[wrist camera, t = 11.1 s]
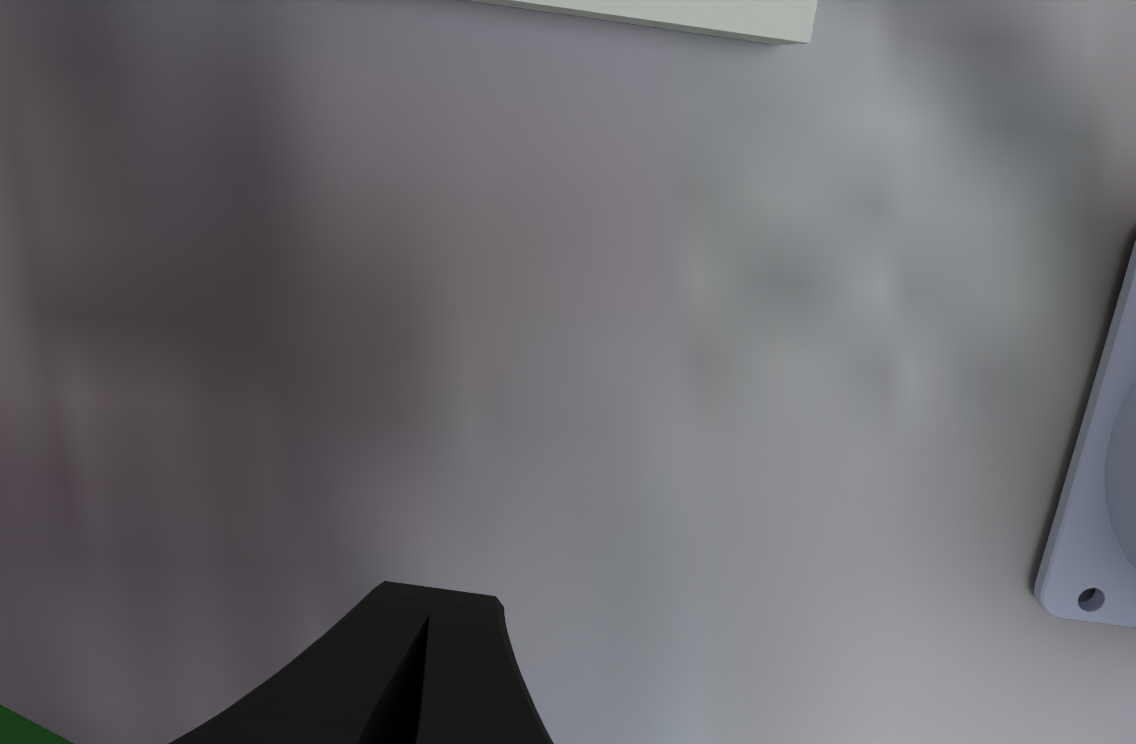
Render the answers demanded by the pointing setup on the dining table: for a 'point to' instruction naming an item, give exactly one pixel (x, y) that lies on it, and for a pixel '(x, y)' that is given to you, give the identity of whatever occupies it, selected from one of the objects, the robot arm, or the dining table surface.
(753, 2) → the sage board
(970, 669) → the dining table surface
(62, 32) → the dining table surface
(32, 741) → the hardback book
